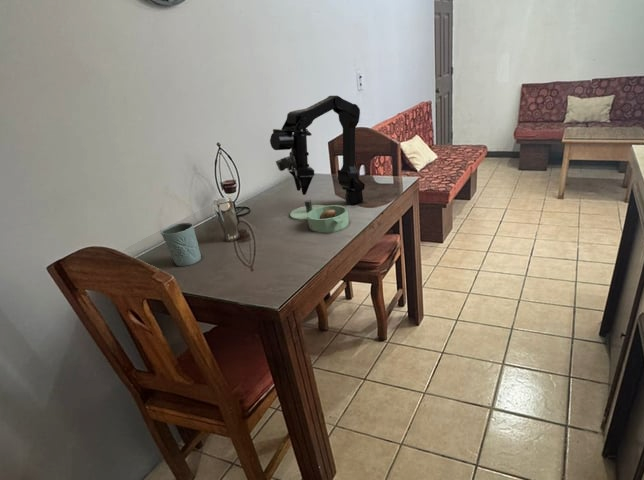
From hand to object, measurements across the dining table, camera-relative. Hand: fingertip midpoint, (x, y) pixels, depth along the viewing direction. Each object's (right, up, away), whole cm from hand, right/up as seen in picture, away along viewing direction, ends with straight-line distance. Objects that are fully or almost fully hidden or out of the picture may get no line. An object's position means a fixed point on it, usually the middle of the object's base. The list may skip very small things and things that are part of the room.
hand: (301, 192), depth 158 cm
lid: (0, -5, +16) cm, 17 cm away
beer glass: (-26, -17, +1) cm, 31 cm away
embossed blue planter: (-37, -27, -13) cm, 47 cm away
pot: (+10, -12, +4) cm, 16 cm away
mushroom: (+10, -12, +4) cm, 16 cm away
